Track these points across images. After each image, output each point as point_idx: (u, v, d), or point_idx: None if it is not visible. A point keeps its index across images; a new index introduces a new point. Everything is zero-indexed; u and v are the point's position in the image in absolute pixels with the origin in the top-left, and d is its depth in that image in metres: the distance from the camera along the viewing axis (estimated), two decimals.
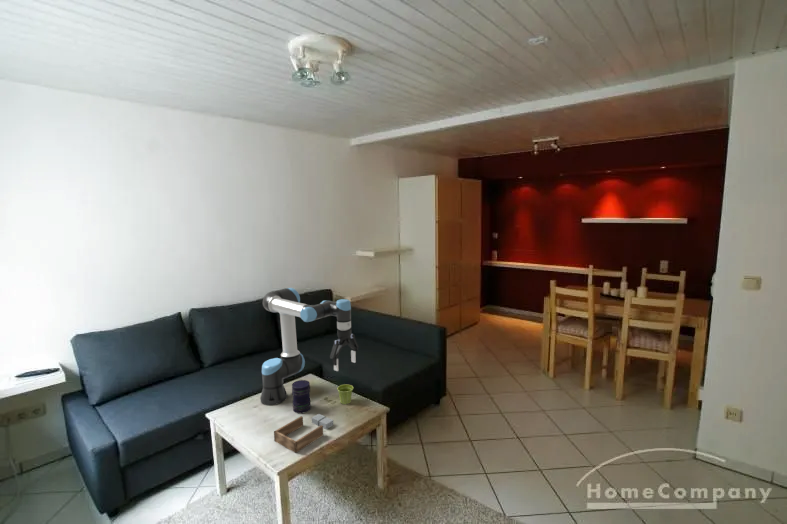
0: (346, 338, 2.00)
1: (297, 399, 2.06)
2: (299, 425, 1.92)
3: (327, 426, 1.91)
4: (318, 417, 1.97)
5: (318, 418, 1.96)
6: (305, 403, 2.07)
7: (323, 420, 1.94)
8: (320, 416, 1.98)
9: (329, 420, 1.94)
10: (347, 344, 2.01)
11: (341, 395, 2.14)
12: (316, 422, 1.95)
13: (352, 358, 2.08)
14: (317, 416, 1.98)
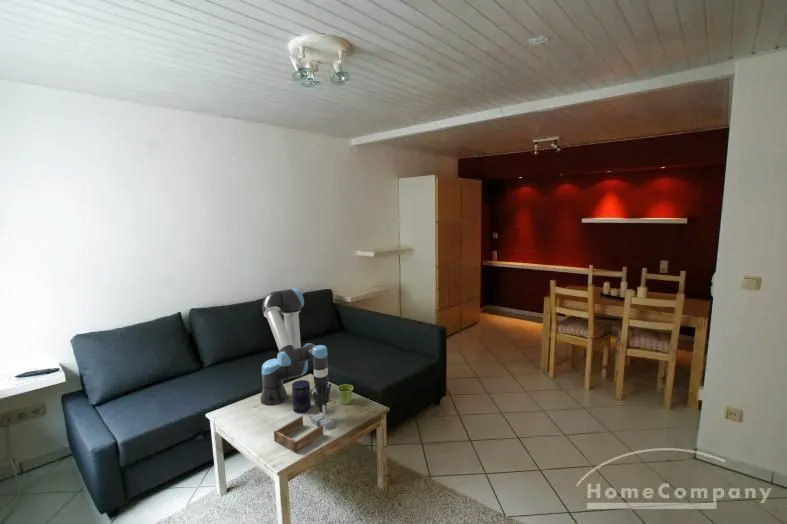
0: None
1: (297, 399, 2.06)
2: (299, 425, 1.92)
3: (327, 426, 1.91)
4: (317, 417, 1.96)
5: (317, 418, 1.95)
6: (305, 403, 2.07)
7: (323, 420, 1.94)
8: (319, 416, 1.97)
9: (329, 420, 1.94)
10: None
11: (341, 395, 2.14)
12: (315, 422, 1.94)
13: (321, 413, 2.00)
14: (317, 416, 1.97)
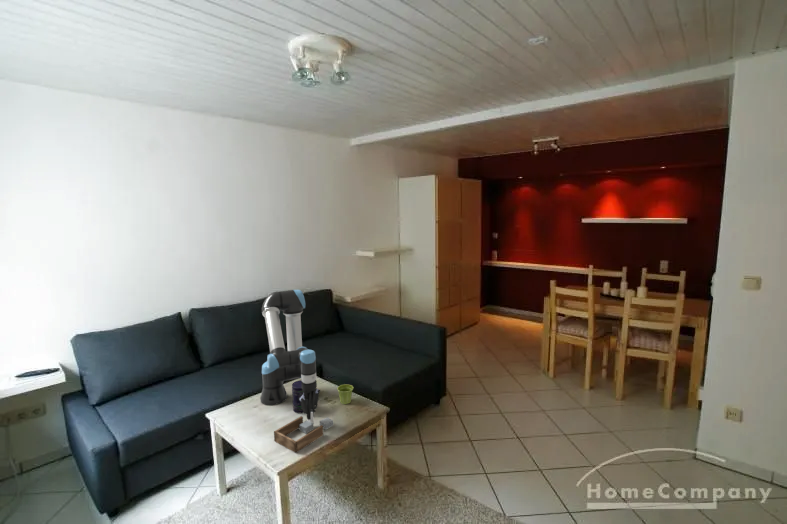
0: None
1: (297, 399, 2.06)
2: None
3: (326, 426, 1.91)
4: (306, 424, 1.90)
5: (306, 425, 1.89)
6: None
7: (323, 420, 1.94)
8: (308, 423, 1.91)
9: (329, 420, 1.94)
10: None
11: (341, 395, 2.14)
12: (304, 429, 1.88)
13: None
14: (305, 423, 1.91)
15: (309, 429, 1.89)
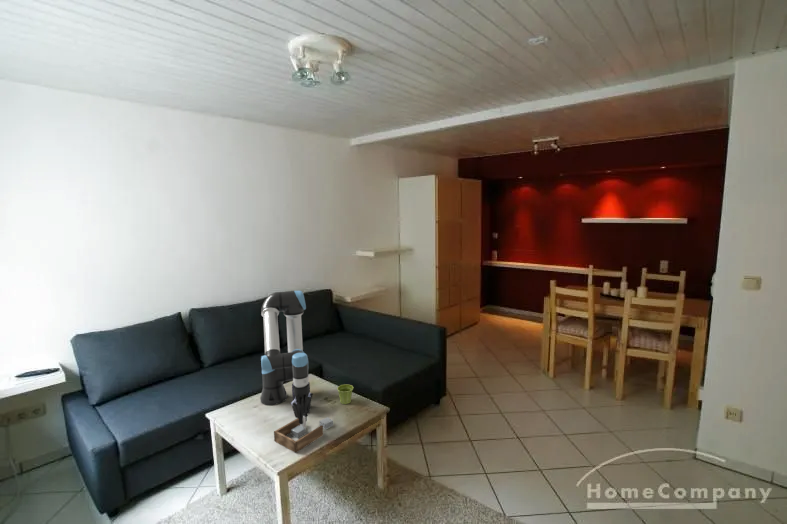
0: None
1: None
2: None
3: (326, 426, 1.91)
4: (298, 429, 1.86)
5: (298, 430, 1.85)
6: None
7: (323, 420, 1.94)
8: (300, 428, 1.87)
9: (329, 420, 1.93)
10: None
11: (341, 395, 2.14)
12: (296, 434, 1.84)
13: None
14: (297, 428, 1.87)
15: (301, 434, 1.85)
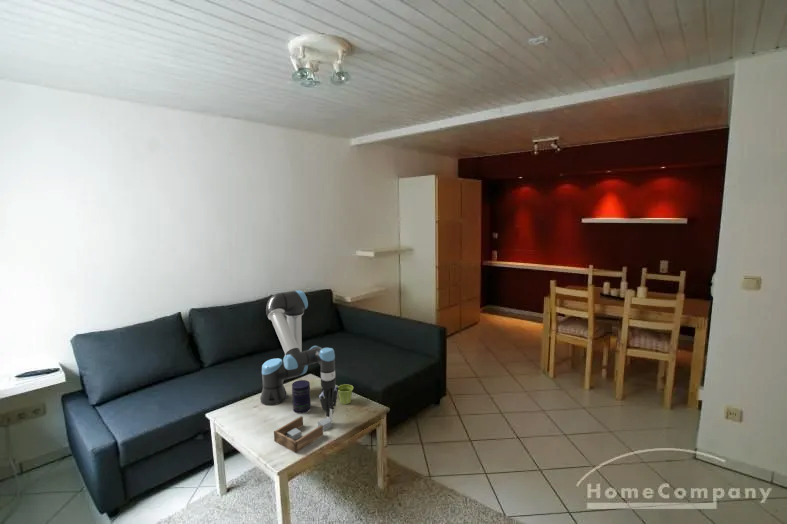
0: None
1: (297, 399, 2.06)
2: (299, 425, 1.92)
3: (324, 427, 1.90)
4: (293, 432, 1.83)
5: (293, 433, 1.83)
6: (305, 403, 2.07)
7: (322, 420, 1.93)
8: (296, 431, 1.84)
9: (327, 421, 1.92)
10: None
11: (341, 395, 2.14)
12: (291, 437, 1.81)
13: None
14: (293, 431, 1.85)
15: (296, 437, 1.82)
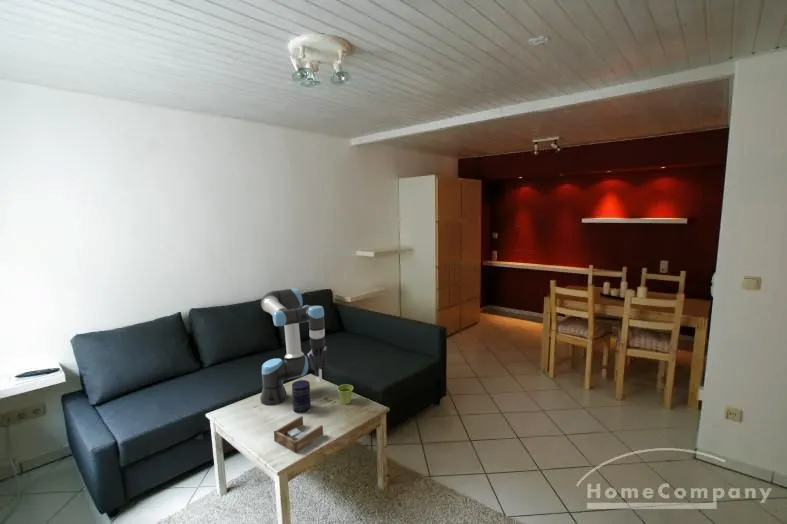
0: None
1: (297, 399, 2.06)
2: (299, 425, 1.92)
3: None
4: (293, 432, 1.83)
5: (293, 433, 1.83)
6: (305, 403, 2.07)
7: (299, 435, 1.80)
8: (296, 431, 1.84)
9: None
10: None
11: (341, 395, 2.14)
12: (290, 437, 1.82)
13: (317, 377, 1.91)
14: (293, 430, 1.85)
15: None
